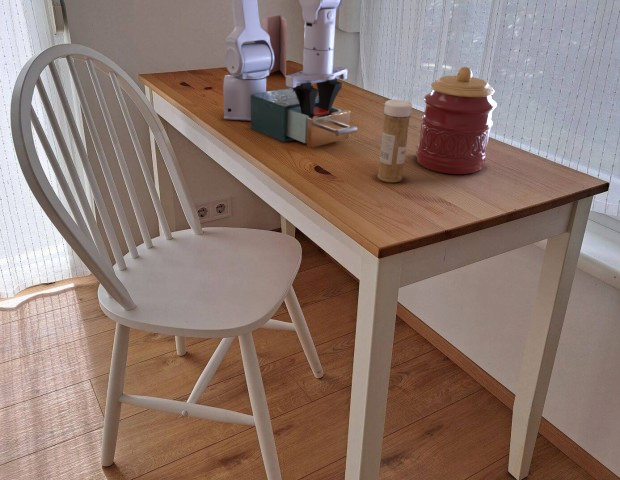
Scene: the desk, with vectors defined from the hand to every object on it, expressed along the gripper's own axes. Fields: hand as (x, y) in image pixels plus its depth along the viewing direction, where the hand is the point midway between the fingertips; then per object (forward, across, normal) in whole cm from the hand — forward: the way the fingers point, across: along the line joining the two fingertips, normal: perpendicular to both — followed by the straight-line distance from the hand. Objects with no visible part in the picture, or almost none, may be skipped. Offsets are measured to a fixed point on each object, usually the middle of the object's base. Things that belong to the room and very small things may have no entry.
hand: (315, 119), depth 120 cm
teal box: (+4, 0, +8) cm, 10 cm away
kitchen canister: (+5, +12, -25) cm, 28 cm away
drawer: (+4, 0, -2) cm, 4 cm away
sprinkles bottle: (+5, -3, -24) cm, 24 cm away
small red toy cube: (+2, 0, 0) cm, 2 cm away
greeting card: (+4, +34, +53) cm, 63 cm away
